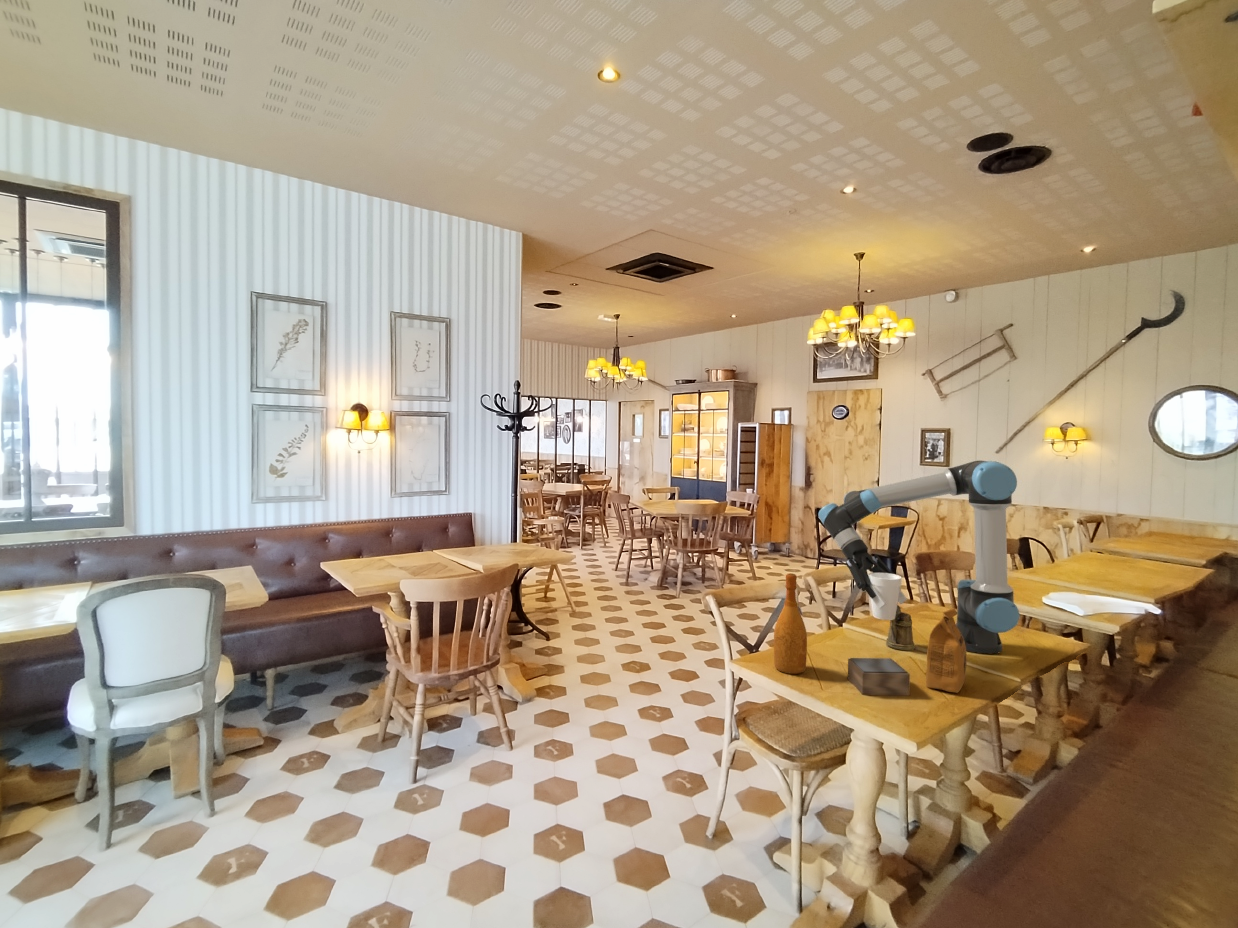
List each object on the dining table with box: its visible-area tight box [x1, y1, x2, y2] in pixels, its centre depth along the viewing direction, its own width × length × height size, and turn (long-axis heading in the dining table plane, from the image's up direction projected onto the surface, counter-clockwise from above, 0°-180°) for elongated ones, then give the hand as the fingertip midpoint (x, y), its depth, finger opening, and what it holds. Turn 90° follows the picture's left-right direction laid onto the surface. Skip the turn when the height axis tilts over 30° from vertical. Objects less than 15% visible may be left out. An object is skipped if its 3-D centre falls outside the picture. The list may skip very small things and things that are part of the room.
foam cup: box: [868, 572, 902, 621], centre depth 181 cm, size 10×9×13 cm
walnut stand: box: [847, 657, 911, 696], centre depth 167 cm, size 13×11×6 cm
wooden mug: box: [885, 604, 915, 652], centre depth 198 cm, size 9×14×18 cm, turn 126°
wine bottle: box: [773, 572, 808, 675], centre depth 179 cm, size 10×10×30 cm
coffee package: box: [925, 607, 967, 693], centre depth 167 cm, size 10×12×22 cm
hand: (893, 603), depth 178 cm, fingers closed on foam cup, 9 cm apart
